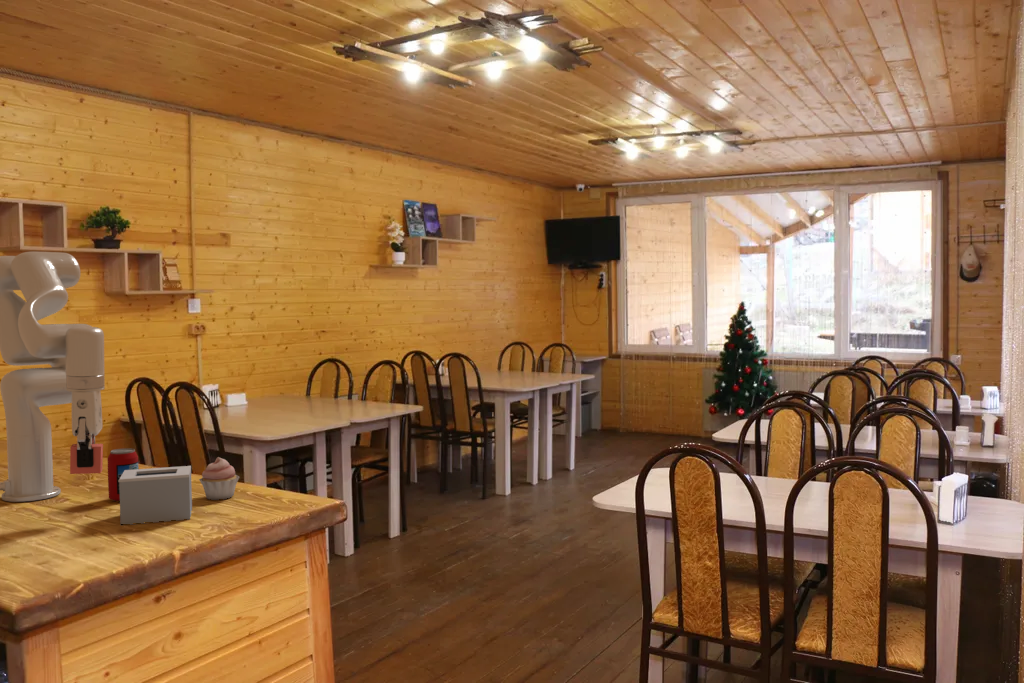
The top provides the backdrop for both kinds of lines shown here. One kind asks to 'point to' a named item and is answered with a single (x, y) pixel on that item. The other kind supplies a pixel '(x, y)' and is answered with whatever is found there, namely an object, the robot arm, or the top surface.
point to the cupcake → (219, 480)
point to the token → (96, 459)
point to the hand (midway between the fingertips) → (86, 464)
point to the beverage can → (119, 469)
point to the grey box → (155, 494)
